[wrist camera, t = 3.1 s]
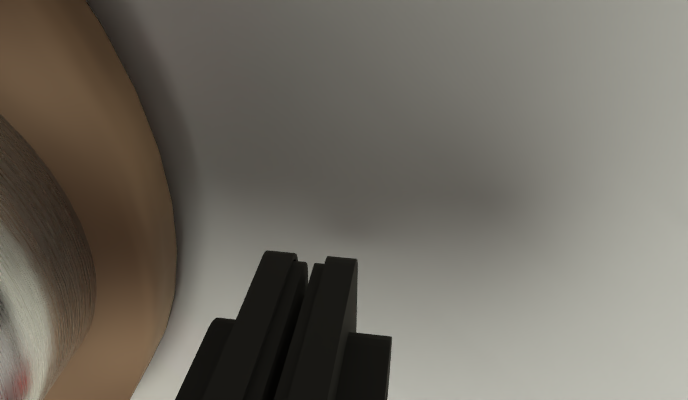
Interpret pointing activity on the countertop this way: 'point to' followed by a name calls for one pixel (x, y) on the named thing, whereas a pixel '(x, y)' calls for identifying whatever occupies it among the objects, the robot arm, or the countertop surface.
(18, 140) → the cover
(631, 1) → the countertop surface
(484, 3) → the countertop surface
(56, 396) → the turntable
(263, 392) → the robot arm
